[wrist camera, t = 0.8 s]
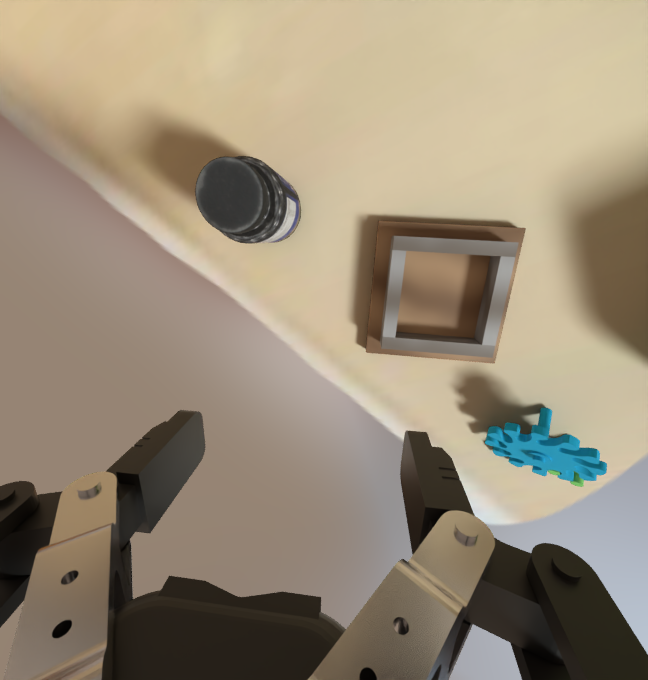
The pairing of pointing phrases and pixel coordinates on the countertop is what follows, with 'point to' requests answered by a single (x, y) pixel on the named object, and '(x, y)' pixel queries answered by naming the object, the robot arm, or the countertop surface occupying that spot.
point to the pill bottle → (247, 200)
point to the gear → (546, 451)
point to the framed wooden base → (441, 289)
